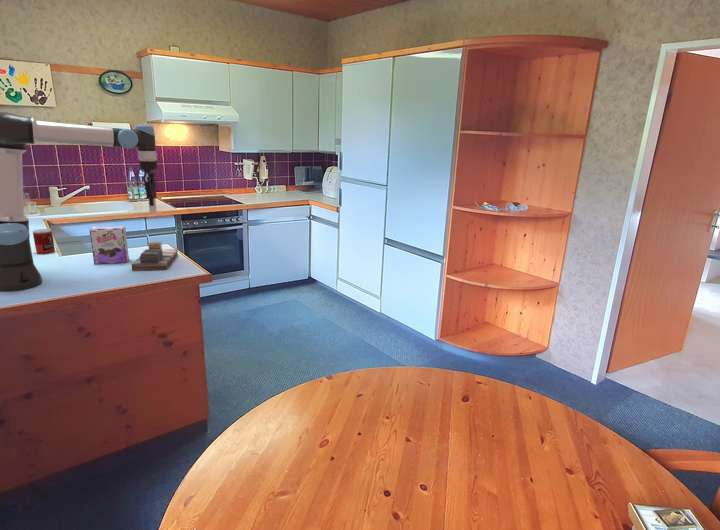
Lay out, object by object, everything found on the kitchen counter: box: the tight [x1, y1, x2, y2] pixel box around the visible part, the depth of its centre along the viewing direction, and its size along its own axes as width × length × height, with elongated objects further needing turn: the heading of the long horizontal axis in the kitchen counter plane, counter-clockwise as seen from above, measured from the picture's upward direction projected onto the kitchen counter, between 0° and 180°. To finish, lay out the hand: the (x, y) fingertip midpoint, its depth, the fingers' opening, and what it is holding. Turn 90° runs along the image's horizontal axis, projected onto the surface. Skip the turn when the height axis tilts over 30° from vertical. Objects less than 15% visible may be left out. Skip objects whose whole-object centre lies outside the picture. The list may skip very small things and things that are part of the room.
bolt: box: [147, 241, 163, 250], centre depth 208 cm, size 10×5×6 cm, turn 11°
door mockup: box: [131, 248, 179, 272], centre depth 211 cm, size 26×14×7 cm, turn 11°
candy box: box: [89, 225, 130, 265], centre depth 209 cm, size 14×6×16 cm, turn 105°
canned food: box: [32, 228, 56, 255], centre depth 223 cm, size 8×8×11 cm
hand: (153, 212), depth 212 cm, fingers closed
